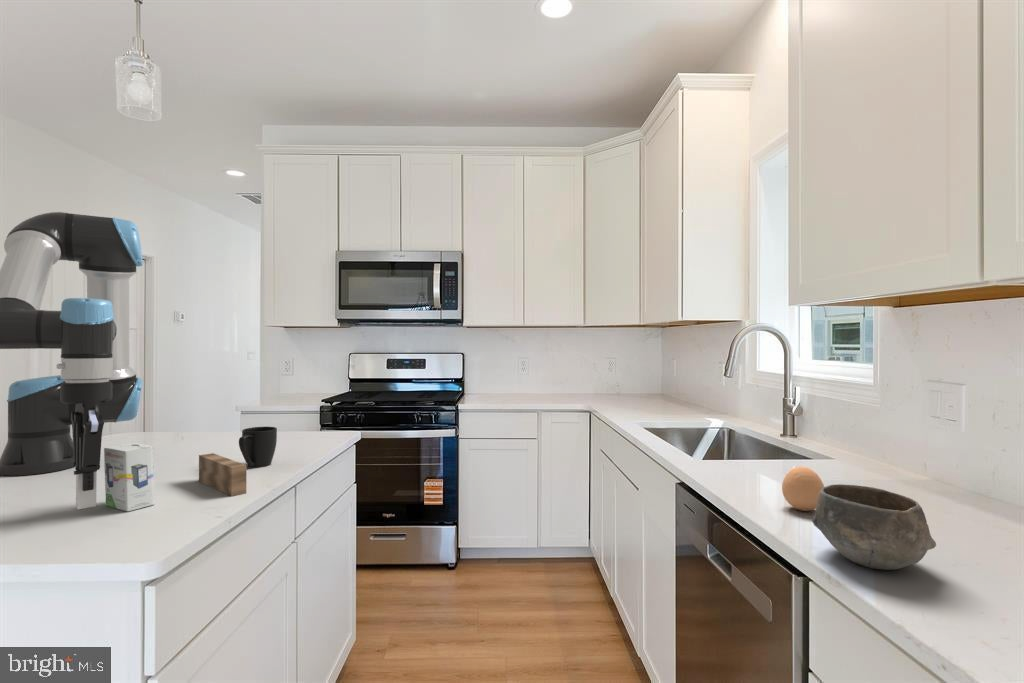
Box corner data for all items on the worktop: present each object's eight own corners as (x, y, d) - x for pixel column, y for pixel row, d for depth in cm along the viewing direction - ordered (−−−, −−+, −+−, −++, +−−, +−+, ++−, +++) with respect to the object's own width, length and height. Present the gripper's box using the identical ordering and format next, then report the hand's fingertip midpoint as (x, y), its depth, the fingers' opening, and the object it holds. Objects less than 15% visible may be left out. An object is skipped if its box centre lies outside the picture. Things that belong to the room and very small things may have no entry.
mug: (224, 472, 126) (224, 433, 126) (254, 461, 138) (255, 426, 138) (255, 473, 125) (255, 434, 125) (283, 462, 137) (283, 426, 137)
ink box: (155, 505, 101) (155, 445, 101) (125, 513, 96) (126, 450, 96) (132, 498, 105) (132, 441, 105) (102, 506, 100) (102, 446, 100)
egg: (778, 511, 99) (778, 467, 99) (785, 501, 105) (785, 460, 105) (822, 519, 95) (822, 473, 95) (826, 509, 101) (827, 466, 101)
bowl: (856, 584, 69) (856, 511, 69) (793, 540, 85) (793, 480, 85) (958, 584, 69) (958, 511, 69) (876, 540, 85) (877, 480, 85)
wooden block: (198, 481, 118) (198, 455, 118) (212, 478, 120) (213, 453, 120) (231, 496, 107) (231, 467, 107) (246, 493, 109) (246, 465, 109)
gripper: (53, 380, 97) (52, 504, 97) (68, 384, 88) (67, 519, 88) (103, 378, 102) (102, 495, 102) (121, 381, 94) (120, 509, 94)
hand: (86, 506), depth 95 cm, fingers closed
